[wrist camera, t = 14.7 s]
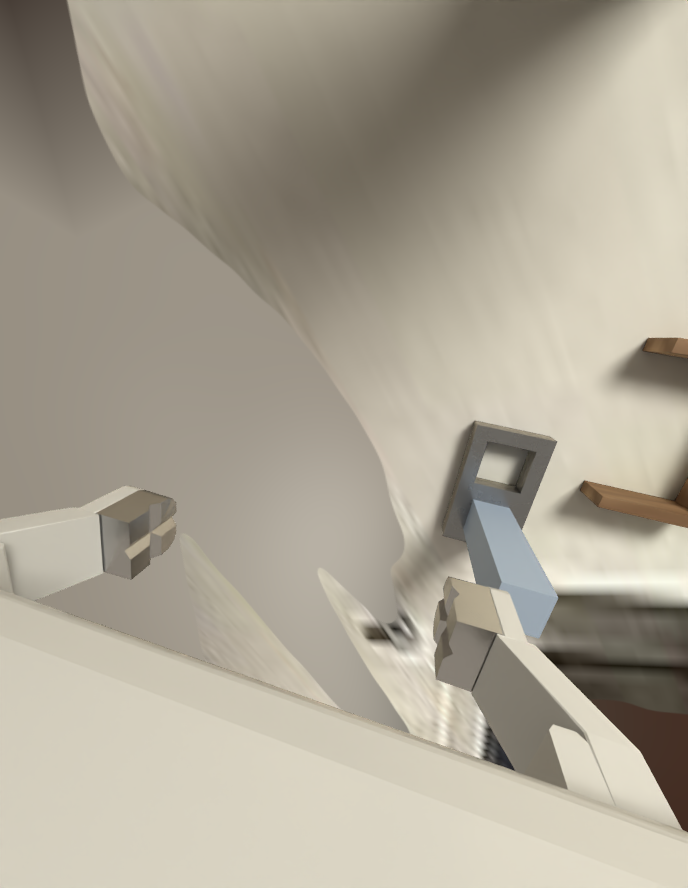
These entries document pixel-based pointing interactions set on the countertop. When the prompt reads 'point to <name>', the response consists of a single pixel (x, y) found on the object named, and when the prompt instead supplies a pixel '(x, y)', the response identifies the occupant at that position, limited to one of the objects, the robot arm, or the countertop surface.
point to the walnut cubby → (677, 512)
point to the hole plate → (496, 492)
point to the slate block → (508, 564)
